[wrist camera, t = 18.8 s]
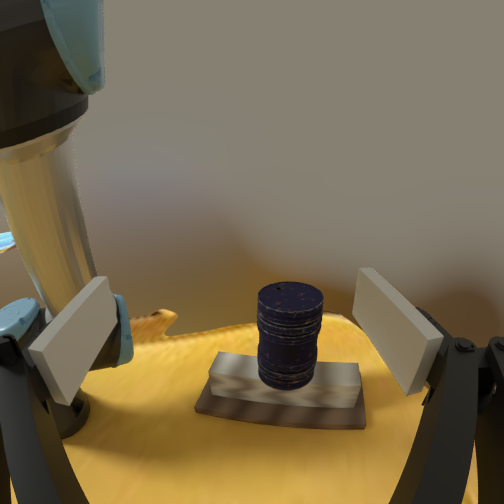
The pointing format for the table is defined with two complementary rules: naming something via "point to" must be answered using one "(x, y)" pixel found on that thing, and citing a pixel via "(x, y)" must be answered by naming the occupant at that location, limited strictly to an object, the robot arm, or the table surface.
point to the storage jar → (288, 334)
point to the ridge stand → (284, 396)
